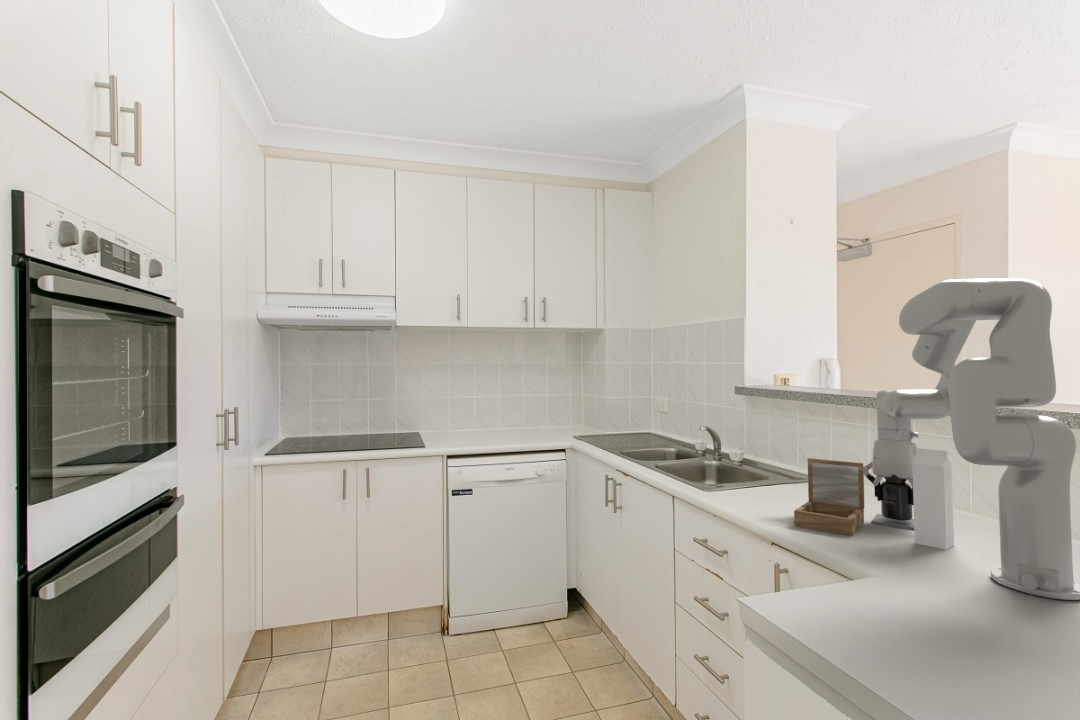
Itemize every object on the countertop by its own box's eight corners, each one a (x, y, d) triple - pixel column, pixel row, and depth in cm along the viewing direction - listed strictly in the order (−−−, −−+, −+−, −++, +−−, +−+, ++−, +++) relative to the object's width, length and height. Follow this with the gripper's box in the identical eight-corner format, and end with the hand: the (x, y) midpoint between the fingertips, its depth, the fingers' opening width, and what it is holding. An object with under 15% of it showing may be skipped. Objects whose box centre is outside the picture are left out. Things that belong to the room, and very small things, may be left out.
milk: (946, 550, 112) (943, 452, 113) (914, 543, 117) (911, 449, 118) (954, 545, 116) (951, 450, 116) (922, 538, 120) (920, 447, 121)
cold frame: (852, 536, 122) (851, 470, 123) (793, 525, 131) (792, 464, 132) (864, 523, 134) (863, 463, 134) (809, 514, 143) (808, 457, 143)
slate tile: (917, 530, 127) (917, 528, 127) (871, 523, 134) (871, 520, 134) (921, 522, 134) (921, 520, 134) (877, 515, 141) (877, 513, 141)
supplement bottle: (919, 521, 130) (917, 475, 131) (892, 521, 131) (891, 474, 131) (900, 514, 137) (899, 470, 138) (875, 514, 137) (874, 470, 138)
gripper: (936, 437, 132) (938, 505, 131) (859, 432, 144) (861, 495, 143) (933, 439, 126) (936, 510, 125) (854, 434, 138) (856, 499, 137)
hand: (896, 501), depth 134 cm, fingers closed on supplement bottle, 6 cm apart
